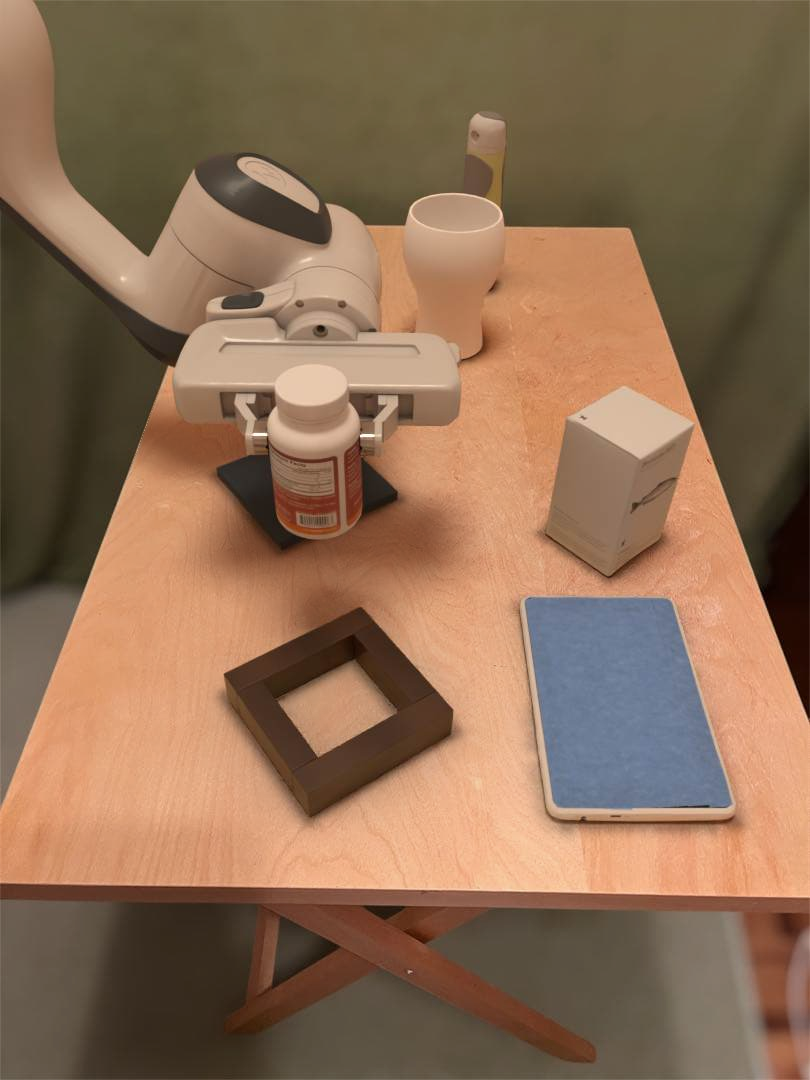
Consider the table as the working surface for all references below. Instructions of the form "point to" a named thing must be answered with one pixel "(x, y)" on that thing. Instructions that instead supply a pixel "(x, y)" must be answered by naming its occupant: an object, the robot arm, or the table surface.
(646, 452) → the white packaging box
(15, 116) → the robot arm
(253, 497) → the coaster
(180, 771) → the table surface
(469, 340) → the cup
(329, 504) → the pill bottle
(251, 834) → the table surface
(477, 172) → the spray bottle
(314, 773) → the holder
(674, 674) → the tablet
